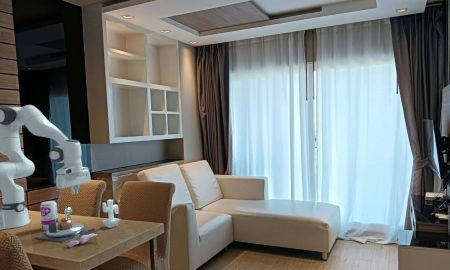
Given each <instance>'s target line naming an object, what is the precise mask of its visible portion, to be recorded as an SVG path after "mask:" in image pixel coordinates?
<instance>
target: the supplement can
mask: <svg viewBox="0 0 450 270" xmlns="http://www.w3.org/2000/svg"><path fill="white" fill-rule="evenodd" d="M57 204H58V203H57V202H56V201H55V200H48V201H47V200H46V201H43V202H41V203H40V206H39V207H40V222H41V230H43V231H47V230H48V229H49V223H51V222H56V226H57V225H58V224H57V222H58V221H59V220H58V219H59V218H58V205H57Z"/></svg>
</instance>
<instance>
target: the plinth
mask: <svg viewBox="0 0 450 270" xmlns="http://www.w3.org/2000/svg"><path fill="white" fill-rule="evenodd" d="M94 230H95V228H94V227H87V226H84V230H83V231H81V232H79V233H77V234H79V237H81V236H83V235H86V234H87V233H88V234H89V233H90V232H93V231H94ZM76 236H77V235H75V234H74V235H70V236H64V237H48V236H47V233H46V232H44V233H42V234H39V235H36V236H35V239H36V240H37V239H39V240H43V241H44V240H45V241H46V240H47V241H51V242H52V241H53V242H59V243H64V242H67V241H71V240H73V238H74V237H76Z"/></svg>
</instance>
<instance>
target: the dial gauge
mask: <svg viewBox="0 0 450 270" xmlns="http://www.w3.org/2000/svg"><path fill="white" fill-rule="evenodd" d="M63 213H64V215H65V216H66V218H68V219H72V217H71V215H72V214H73V209H72V207H66V208H65V209H64V211H63Z"/></svg>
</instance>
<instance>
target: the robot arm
mask: <svg viewBox="0 0 450 270" xmlns="http://www.w3.org/2000/svg"><path fill="white" fill-rule="evenodd" d="M21 127H23V128H27V130H28V131H29V132H30V133H31V134H32V135H35V136H37V137H43V138H49V139H52V140H54V141H55V142H56V143H57V144H58V145H56V146H53V147H51V149H50V151H49V155H48V156H49V159H50V161H51V162H52V163H55V164H63V163H64V166H62V167H60V168H59V169H56V170H55V171H56V177H55V185H56V188H57V189H59V190H60V189H62V190H63V189H66V188H68V189H70V191H71V195H75V194H79V189H80V187H81V185H83V184H89V183H91V180H92V179H91V174H90V168H89V167H87V166H84V167H83V162H82V155H83V154H82V147H81V143H80V141H79V140H77V139H70V138H69V137H68V136H67V135H66V134H65V133H64V132H63V130H61V129H60V128H59V127H57V126H56V125H54V124H53V123H52V122H51V121H49V119H48V118H47V117H45V115H44V114H43V112H41V110H40V109H38V108H37V107H36V106H35V105H32V104H26V105H24V106H22V107H21V106H4V107H3V106H2V107H0V154H2V155H3V156H7V158H8V159H9V160H8V161H7V160H6V161H0V191H1V198H2V199H1V200H2V203H0V231H2V230H8V229H14V228H20V227H23V226H24V227H25V226H27V225H28V224H30V222H31V221H32V220H31V219H30V215H29V211H28V208H27V207H26V206H27V203H26V200H25V190H24V187H22V186H21V185H19V184H17V183H15V182H14V179H15V180H17V179H22V178H26V177H30V176H32V175H33V174H34V172H35V170H36V169H35V168H36V167H35V164H34V162H33V161H32V160H30V159H29V158H27V157H26V155H24V152H23V151H22V145H21V141H20V140H21V139H20V132H19V131H20V128H21Z"/></svg>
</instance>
